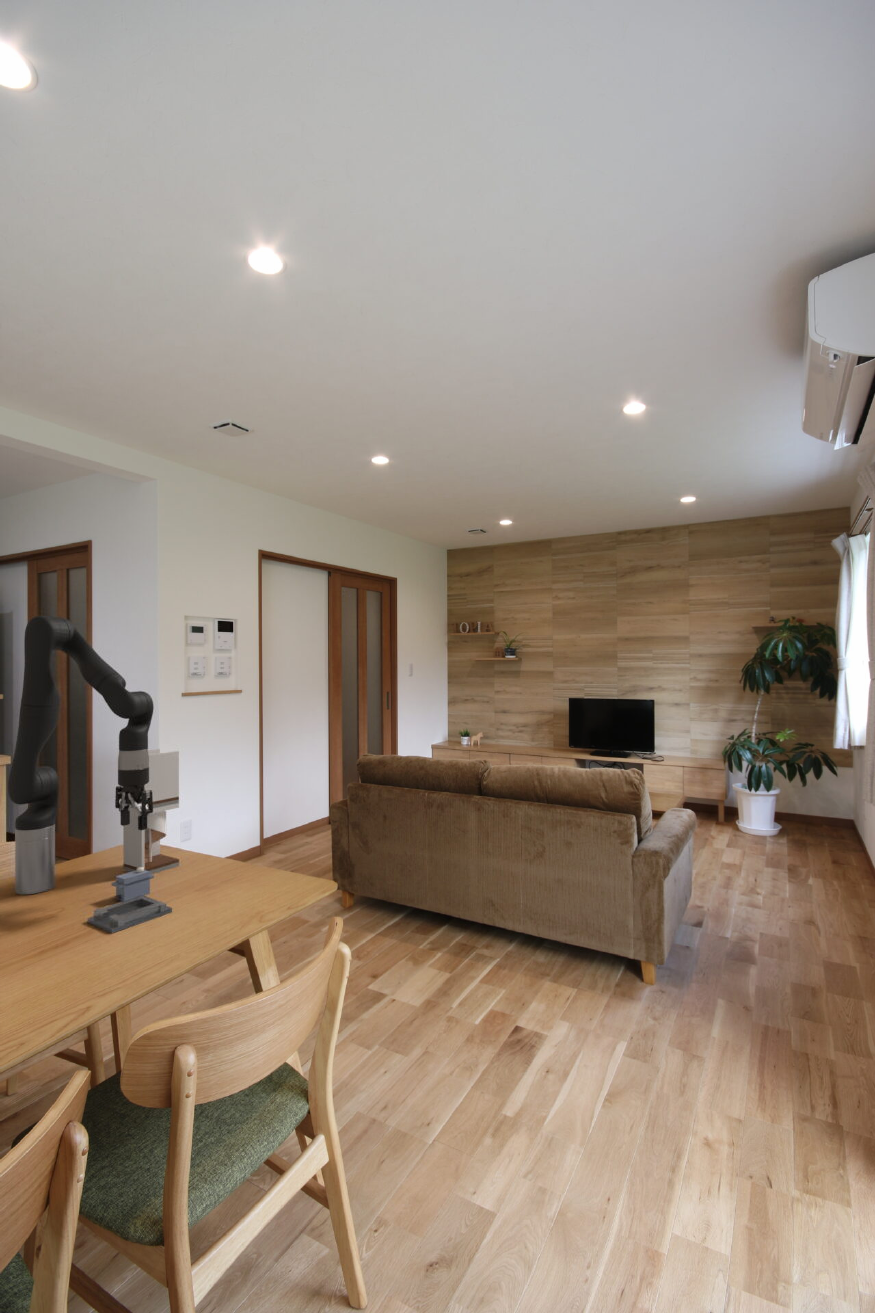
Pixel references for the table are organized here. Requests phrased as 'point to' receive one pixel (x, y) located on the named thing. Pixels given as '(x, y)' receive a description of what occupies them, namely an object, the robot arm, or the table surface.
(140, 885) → the servo
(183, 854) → the table surface
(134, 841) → the white alcove tower
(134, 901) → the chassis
